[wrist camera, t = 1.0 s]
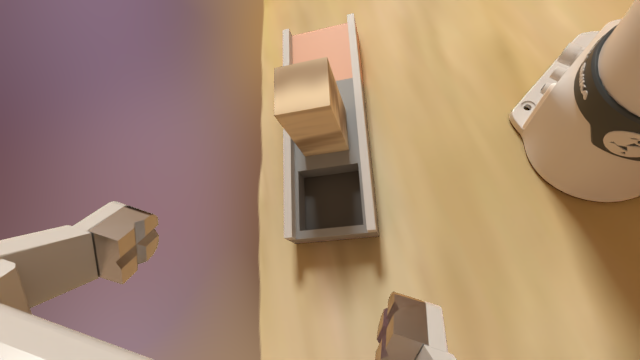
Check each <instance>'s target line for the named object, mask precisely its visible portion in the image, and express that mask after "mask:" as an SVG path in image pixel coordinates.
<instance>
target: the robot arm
mask: <svg viewBox="0 0 640 360" xmlns="http://www.w3.org/2000/svg"><path fill="white" fill-rule="evenodd" d="M525 107H527V108H529V109H530V110H525V109H524V108H525ZM509 119H510V122H511V123H512V125H513V126H514V127H515V129H516V130H517V131H518V132H519V133H520V135H521V136H522V139H523V142H524V146H525V151H526V154H527V156H528V159H529V161H530V162H531V164H532V166H533V167H534V169H535V170H536V171H537V172H538V173H539V175H540V176H541V177H542V178H544V179H545V180H546V181H547V182H548V183H550V184H551V185H552V186H554V187H555V188H557V189H559V190H561V191H563V192H565V193H567V194H569V195H572V196H574V197H577V198H581V199H585V200H590V201H597V202H617V201H624V200H628V199H632V198H635V197H638V196H640V0H634V2H633V3H632V5H631V6H630V8H629V9H628V11H627V12H626V14H625V15H624V17H623V18H622V19H618V20H614V21H611V22H609V23H607V24H606V25H605V26H604V27H603V28H602V30H601V31H592V32H586V33H581V34H579V35H578V36H577V37H576V38H575V39H574V40H573V41H572V42H570V43H569V44H568V45H567V47H566V48H565V49H564V51H563V52H562V53H561V55H560V56H559V57H558V58H557V59H556V61H555V62H554V63H553V64H552V65H551V66H550V68H549V69H548V70H547V71H546V72H545V73H544V74H543V76H542V77H541V78H540V79H539V80H538V81H537V82H536V84H535V85H534V86H533V87H532V88H531V89H530V90H529V92H528V93H527V94H526V95H525V96H524V97H523V98H522V100H521V101H520V102H519V103H518V104H517V105H516V106H515V108H514V109H513V110H512V111H511V113H510V115H509ZM157 225H158V217H157V216H156V215H154V214H151V213H148V212H146V211H143V210H140V209H137V208H134V207H131V206H127V205H125V204H122V203H119V202H116V201H114V202H110V203H108V204H107V205H105V206H103V207H102V208H100V209H99V210H97V211H96V212H94V213H92V214H91V215H89V216H88V217H86V218H85V219H83V220H82V221H80V222H78V223H77V224H75V225H74V226H69V225H67V226H62V227H57V228H53V229H48V230H45V231H40V232H35V233H31V234H26V235H22V236H17V237H13V238H9V239H4V240H0V360H153V359H150V358H148V357H145V356H142V355H140V354H137V353H134V352H132V351H129V350H126V349H123V348H121V347H118V346H115V345H113V344H110V343H107V342H104V341H102V340H99V339H96V338H94V337H91V336H88V335H85V334H83V333H80V332H77V331H75V330H72V329H69V328H67V327H64V326H61V325H58V324H55V323H53V322H50V321H48V320H45V319H42V318H40V317H37V316H34V315H32V313H31V310H30V308H31V307H33V306H36V305H38V304H41V303H43V302H45V301H47V300H50V299H52V298H54V297H57V296H59V295H61V294H63V293H66V292H67V291H70V290H72V289H75V288H77V287H79V286H82V285H84V284H86V283H88V282H91V281H93V280H95V279H98V277H101V278H104V279H107V280H110V281H114V282H117V283H120V284H124V283H125V282H126V281H127V280H128V279H129V278H130V277H131V276H132V275H133V274H134V273H135V272H136V271H137V269H138V264H140V263H143V262H146V261H148V260H149V258H150V257H151V256H152V255H153V254H154V252H155V250H156V249H157V245H158V242H159V238H158V237H159V235H158V234H157V232H156V230H155V229H154V228H155V227H156V226H157ZM377 340H378V342H379V346H378V348H377V350H376V356H375V360H457V359H456V358H455V356H454V355H453V354H451V353H448V347H447V340H446V333H445V326H444V319H443V311H442V308H441V306H438V305H435V304H432V303H429V302H425V301H422V300H418V299H415V298H412V297H409V296H406V295H402V294H399V293H396V292H392V293H391V295H390V297H389V299H388V308H386V309H384V311H383V313H382V316H381V319H380V322H379V326H378V332H377Z"/></svg>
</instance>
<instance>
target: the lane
mask: <svg viewBox="0 0 640 360" xmlns="http://www.w3.org/2000/svg"><path fill="white" fill-rule="evenodd" d="M347 22H348V23H344V24H340V25H336V26H332V27H327V28H323V29H319V30H315V31H310V32H306V33H302V34H298V35H293V36H292V34H291V32H290V30H289V29H286V30H283V66H287V65H291V64H296V63H301V62H305V61H310V60H315V59H319V58H324V57H327V58H328V61H329V64H330V67H331V69H332V72H333V75H334V78H335V81H336V84H337V86H338V89H339V92H340V95H341V98H342V101H343V103H344V106H345V109H346V118H347V131H348V143H349V150H345V151H339V152H332V153H325V154H319V155H312V156H304V155H303V153H302V152H301V151H300V149H299V148H298V147H297V145H296V144H295V143H294V141H293V140H292V139H291V137H290V136H289V135H288V133H287V132H286V131H285V129H284V128H283V155H284V238H285V239H287V240H289V241H291V242H293V243H295V244H298V243H309V242H321V241H332V240H343V239H354V238H366V237H377V236H379V228H378V219H377V209H376V200H375V190H374V181H373V171H372V162H371V153H370V143H369V134H368V124H367V115H366V105H365V96H364V86H363V77H362V67H361V58H360V48H359V39H358V32H357V27H356V23H355V18H354V13H352V14H348V15H347Z"/></svg>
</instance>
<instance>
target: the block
mask: <svg viewBox="0 0 640 360" xmlns="http://www.w3.org/2000/svg"><path fill="white" fill-rule="evenodd" d="M274 116H275V117H276V119H277V120H278V121H279V123H280V124H281V125H282V127H283V128H284V129H285V131H286V132H287V133H288V135H289V136H290V137H291V139H292V140H293V141H294V143H295V144H296V145H297V147H298V148H299V149H300V151H301V152H302V153H303V155H304V156H312V155H319V154H325V153H332V152H339V151H345V150H349V143H348V131H347V118H346V109H345V106H344V103H343V101H342V98H341V95H340V92H339V89H338V86H337V84H336V81H335V78H334V75H333V72H332V69H331V67H330V64H329V61H328V58H327V57H324V58H319V59H315V60H310V61H305V62H301V63H296V64H291V65H287V66H282V67H277V68H274Z"/></svg>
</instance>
